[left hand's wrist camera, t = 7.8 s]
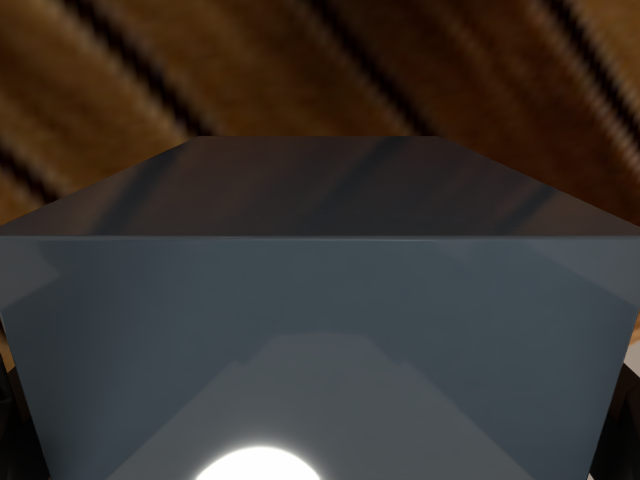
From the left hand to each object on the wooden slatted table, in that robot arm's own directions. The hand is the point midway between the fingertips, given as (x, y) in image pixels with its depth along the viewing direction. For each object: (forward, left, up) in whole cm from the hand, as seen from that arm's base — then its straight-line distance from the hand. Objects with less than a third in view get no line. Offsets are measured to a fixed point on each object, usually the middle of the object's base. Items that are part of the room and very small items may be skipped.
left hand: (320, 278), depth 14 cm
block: (0, 0, -3) cm, 3 cm away
